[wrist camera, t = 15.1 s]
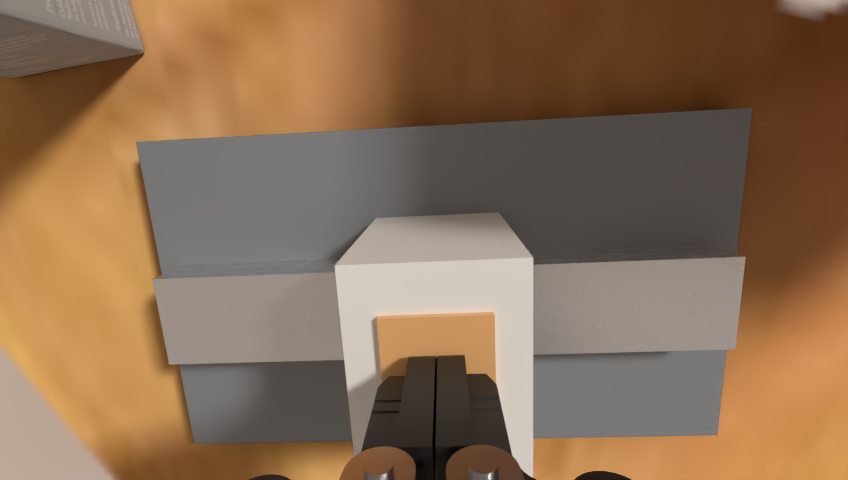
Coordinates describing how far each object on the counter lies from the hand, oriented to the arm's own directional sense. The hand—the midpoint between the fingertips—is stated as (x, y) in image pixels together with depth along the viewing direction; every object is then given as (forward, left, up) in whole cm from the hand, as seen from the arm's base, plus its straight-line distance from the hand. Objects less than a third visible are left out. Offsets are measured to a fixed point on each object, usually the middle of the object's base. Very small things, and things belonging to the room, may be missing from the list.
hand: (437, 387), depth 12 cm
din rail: (0, 0, -7) cm, 7 cm away
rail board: (0, 0, -9) cm, 9 cm away
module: (0, 0, -7) cm, 7 cm away
